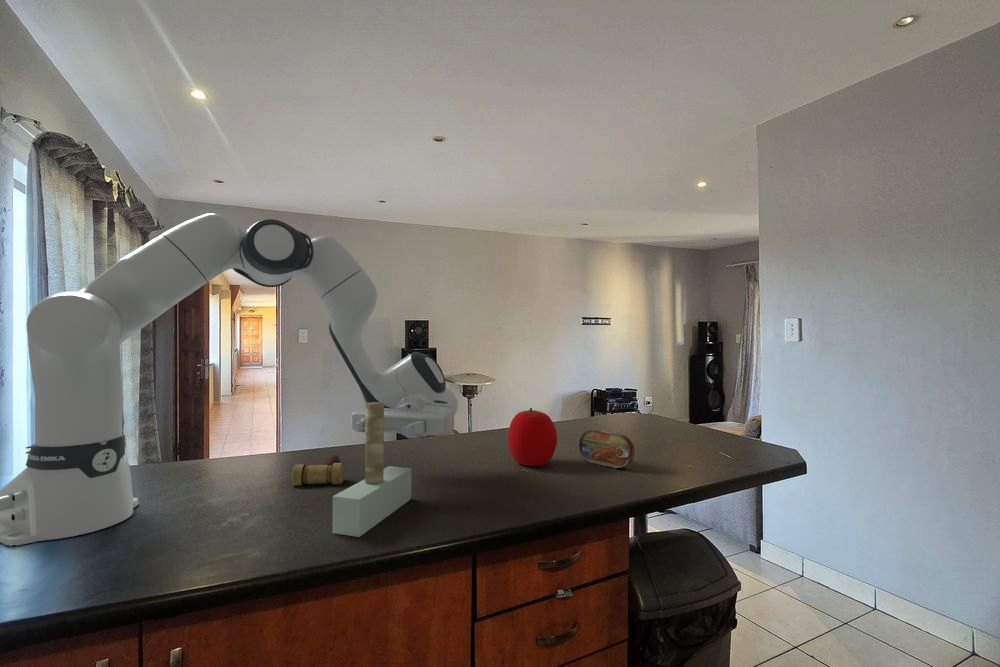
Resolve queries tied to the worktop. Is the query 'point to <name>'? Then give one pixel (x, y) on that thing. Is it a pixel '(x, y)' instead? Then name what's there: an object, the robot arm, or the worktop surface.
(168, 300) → the robot arm
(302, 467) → the gavel
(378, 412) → the dowel
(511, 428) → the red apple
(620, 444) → the tin
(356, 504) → the pale mint rectangular block
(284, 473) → the worktop surface
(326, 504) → the worktop surface
